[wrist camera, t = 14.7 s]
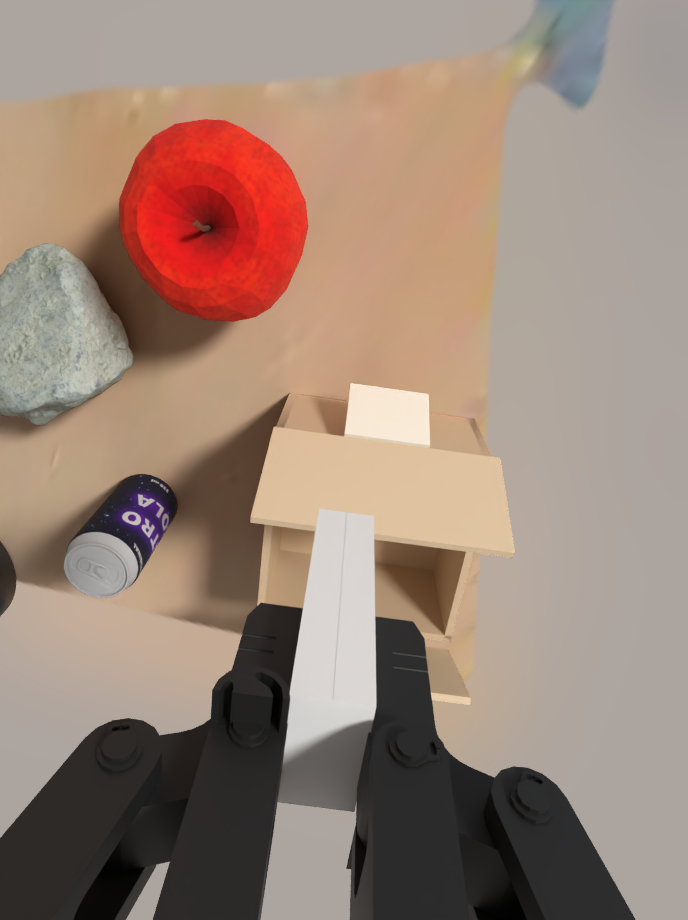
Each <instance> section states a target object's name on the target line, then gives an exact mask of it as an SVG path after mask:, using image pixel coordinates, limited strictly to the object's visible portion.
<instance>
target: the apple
mask: <svg viewBox="0 0 688 920" xmlns="http://www.w3.org/2000/svg"><path fill="white" fill-rule="evenodd" d="M119 225H120V230H121V235H122V240H123V243H124V246H125V248H126V250H127V252H128V254H129V257H130V259H131V260H132V262H133V263H134V265H135V266H136V268H137V269H138V271H139V273H140V274H141V276H142V277H143V278H144V280H145V281H146V282H147V283H148V284H149V285H150V286H151V287H152V288H153V289H154V290H155V291H156V292H157V294H158V295H159V296H160V297H161V298H162V299H163V300H165V301H166V302H167V303H168V304H170V305H171V306H172V307H174V308H175V309H176V310H178V311H181V312H184V313H187V314H190V315H194V316H197V317H200V318H203V319H206V320H217V321H238V320H243V319H249V318H253V317H256V316H258V315H259V314H261V313H263V312H264V311H266V310H268V309H269V308H271V307H272V305H273V304H274V303H275V302H276V301H277V300H278V299H279V297H280V296H281V295H282V294H283V293H284V292H285V290H286V289H287V287H288V285H289V283H290V281H291V278H292V276H293V274H294V272H295V269H296V267H297V265H298V263H299V261H300V258H301V256H302V252H303V248H304V244H305V239H306V235H307V230H308V220H307V210H306V202H305V199H304V197H303V195H302V193H301V190H300V188H299V186H298V183H297V181H296V179H295V176H294V174H293V172H292V170H291V169H290V167H289V166H288V164H287V163H286V162H285V160H284V159H283V158H282V156H281V155H280V154H278V153H277V152H276V151H275V150H274V149H273V148H272V147H271V146H270V145H268V144H267V143H265V142H264V141H262V140H260V139H259V138H257V137H256V136H254V135H252V134H251V133H249V132H248V131H246V130H245V129H243V128H241V127H239V126H236V125H234V124H232V123H230V122H227V121H225V120H208V119H205V120H198V121H191V122H185V123H178V124H174V125H173V126H171V127H169V128H167V129H166V130H164V131H162V132H160V133H158V134H157V135H155V136H153V137H152V139H151V140H150V141H149V142H148V143H147V144H146V146H145V147H144V148H143V149H142V150H141V151H140V153H139V154H138V156H137V157H136V159H135V162H134V164H133V167H132V169H131V171H130V174H129V176H128V179H127V181H126V184H125V186H124V189H123V191H122V194H121V196H120V202H119Z"/></svg>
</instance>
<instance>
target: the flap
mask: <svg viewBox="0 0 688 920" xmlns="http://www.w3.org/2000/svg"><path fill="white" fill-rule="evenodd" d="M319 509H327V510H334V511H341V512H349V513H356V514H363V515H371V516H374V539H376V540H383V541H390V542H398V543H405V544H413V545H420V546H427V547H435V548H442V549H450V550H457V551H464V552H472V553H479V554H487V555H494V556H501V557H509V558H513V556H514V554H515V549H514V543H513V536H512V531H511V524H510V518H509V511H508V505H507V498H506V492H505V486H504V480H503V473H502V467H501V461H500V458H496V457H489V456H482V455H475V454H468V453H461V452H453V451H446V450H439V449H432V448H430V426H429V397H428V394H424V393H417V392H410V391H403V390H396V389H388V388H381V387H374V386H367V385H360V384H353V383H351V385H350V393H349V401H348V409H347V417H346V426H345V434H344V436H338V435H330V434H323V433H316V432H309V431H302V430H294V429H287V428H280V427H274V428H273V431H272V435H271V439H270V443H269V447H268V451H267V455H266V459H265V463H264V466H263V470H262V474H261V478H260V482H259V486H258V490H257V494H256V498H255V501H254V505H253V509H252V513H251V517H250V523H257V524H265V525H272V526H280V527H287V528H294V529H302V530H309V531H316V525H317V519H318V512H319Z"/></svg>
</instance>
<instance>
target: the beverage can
mask: <svg viewBox="0 0 688 920" xmlns="http://www.w3.org/2000/svg"><path fill="white" fill-rule="evenodd" d="M176 512H177V500H176V496H175V494H174V492H173V491H172V489H171V488H170V487H169V486H168V485H167V484H166V483H165V482H164V481H162V480H161V479H159V478H157V477H154V476H151V475H146V474H137V475H133V476H130V477H128V478H126V479H125V480H123V481H122V482H121V484H120V485H119V486H118V487H117V488H116V489H115V490H114V492H113V493H112V494H111V495H110V496H109V497H108V499H107V500H106V501H105V502H104V503H103V504H102V506H101V507H100V508H99V509H98V510H97V511H96V512H95V514H94V515H93V516H92V517H91V518H90V519H89V521H88V522H87V523H86V524H85V525H84V526H83V527H82V529H81V530H80V531H79V532H78V533H77V534H76V536H75V537H74V538H73V539H72V540H71V542H70V543H69V545H68V547H67V551H66V557H65V560H64V571H65V575H66V577H67V579H68V580H69V582H70V583H71V584H72V585H73V586H74V587H75V588H76V589H77V590H79V591H80V592H82V593H84V594H86V595H89V596H92V597H96V598H108V597H112V596H115V595H117V594H119V593H120V592H122V591H123V590H124V589H126V588H128V587H130V586H131V585H132V584H133V583H134V582H135V581H136V579H137V578H138V576H139V574H140V573H141V571H142V569H143V568H144V566H145V564H146V563H147V561H148V559H149V558H150V556H151V555H152V553H153V551H154V550H155V548H156V546H157V545H158V543H159V541H160V540H161V538H162V536H163V535H164V533H165V531H166V530H167V528H168V527H169V525H170V523H171V522H172V520H173V518H174V517H175V515H176Z"/></svg>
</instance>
